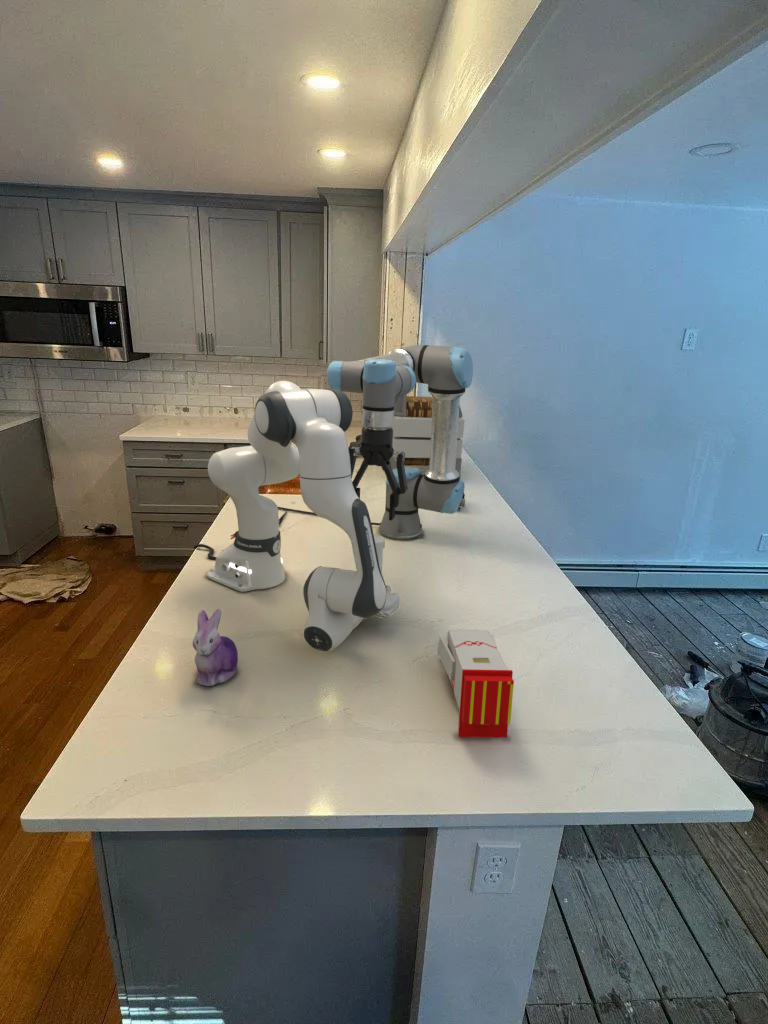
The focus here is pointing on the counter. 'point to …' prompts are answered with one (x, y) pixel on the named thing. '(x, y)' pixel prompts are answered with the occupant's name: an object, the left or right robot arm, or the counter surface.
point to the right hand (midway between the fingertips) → (374, 516)
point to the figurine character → (462, 502)
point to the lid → (379, 542)
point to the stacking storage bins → (417, 431)
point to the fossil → (357, 443)
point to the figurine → (213, 651)
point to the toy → (478, 682)
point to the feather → (282, 518)
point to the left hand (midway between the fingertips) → (371, 584)
